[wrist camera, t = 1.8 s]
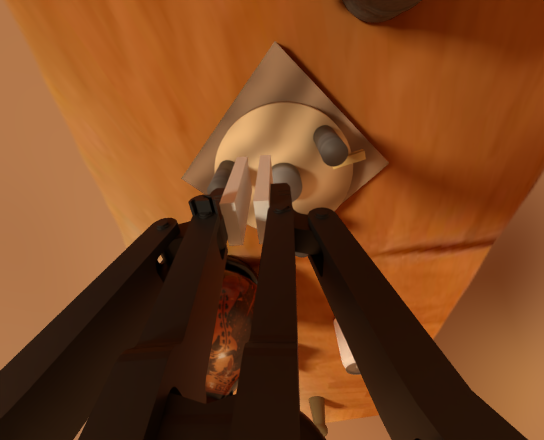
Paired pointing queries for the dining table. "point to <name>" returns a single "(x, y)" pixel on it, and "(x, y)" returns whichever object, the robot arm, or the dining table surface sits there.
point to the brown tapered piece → (318, 413)
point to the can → (345, 352)
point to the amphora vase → (231, 329)
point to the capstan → (290, 155)
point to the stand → (283, 87)
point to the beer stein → (378, 8)
